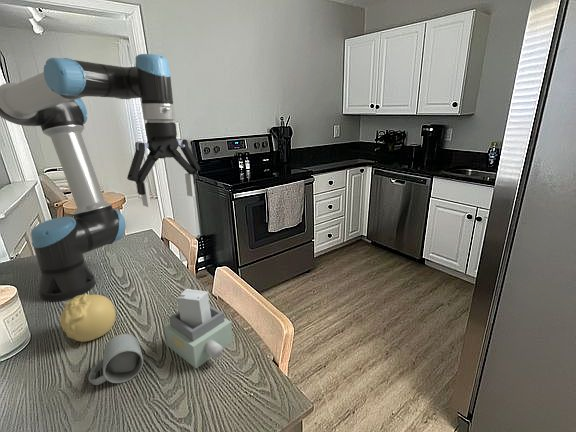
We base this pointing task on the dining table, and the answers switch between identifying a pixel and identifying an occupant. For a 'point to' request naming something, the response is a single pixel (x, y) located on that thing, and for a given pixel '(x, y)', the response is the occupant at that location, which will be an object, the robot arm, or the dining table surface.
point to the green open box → (199, 337)
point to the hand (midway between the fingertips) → (170, 200)
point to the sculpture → (87, 317)
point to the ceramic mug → (119, 360)
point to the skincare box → (194, 307)
